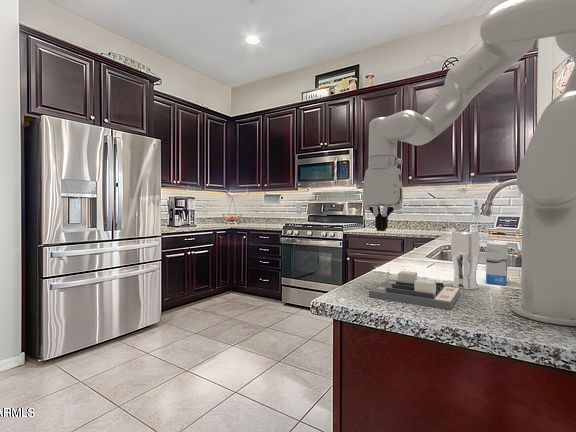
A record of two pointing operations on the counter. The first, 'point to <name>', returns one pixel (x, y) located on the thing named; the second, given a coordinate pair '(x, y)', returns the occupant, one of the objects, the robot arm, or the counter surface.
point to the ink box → (496, 262)
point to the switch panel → (416, 294)
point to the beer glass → (465, 259)
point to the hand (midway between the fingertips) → (381, 230)
